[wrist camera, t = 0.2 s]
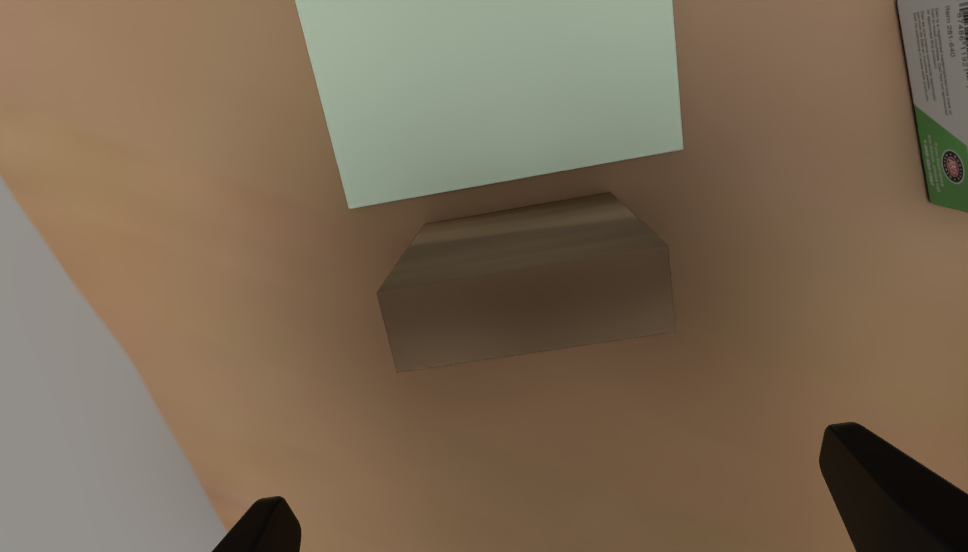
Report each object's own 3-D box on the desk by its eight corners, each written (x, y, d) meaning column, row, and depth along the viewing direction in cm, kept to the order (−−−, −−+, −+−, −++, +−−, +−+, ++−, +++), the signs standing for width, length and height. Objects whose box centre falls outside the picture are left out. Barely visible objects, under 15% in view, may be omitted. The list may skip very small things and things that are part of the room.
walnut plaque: (616, 248, 24) (675, 331, 15) (436, 278, 25) (397, 372, 16) (609, 192, 23) (668, 245, 15) (424, 224, 24) (376, 292, 15)
